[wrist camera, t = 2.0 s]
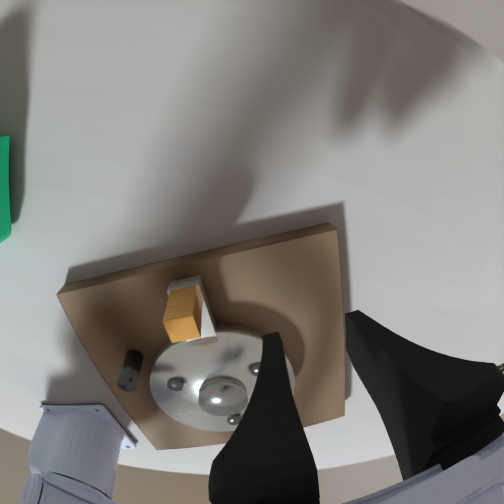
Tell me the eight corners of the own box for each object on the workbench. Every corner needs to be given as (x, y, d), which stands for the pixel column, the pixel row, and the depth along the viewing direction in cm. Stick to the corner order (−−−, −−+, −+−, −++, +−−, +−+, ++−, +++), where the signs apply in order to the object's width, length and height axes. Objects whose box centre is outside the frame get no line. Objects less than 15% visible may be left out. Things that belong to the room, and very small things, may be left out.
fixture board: (157, 439, 28) (156, 449, 27) (64, 285, 20) (56, 294, 19) (340, 405, 28) (344, 415, 27) (328, 223, 21) (336, 229, 19)
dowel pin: (130, 363, 22) (122, 392, 19) (123, 350, 21) (113, 379, 18) (146, 361, 22) (139, 391, 19) (139, 348, 21) (131, 377, 18)
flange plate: (297, 403, 25) (309, 445, 21) (180, 424, 25) (178, 466, 20) (270, 256, 19) (286, 294, 15) (109, 292, 19) (86, 335, 15)
